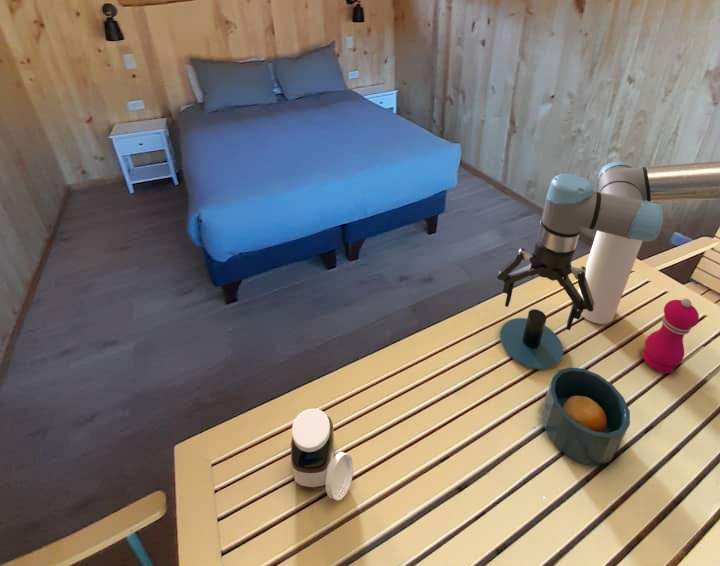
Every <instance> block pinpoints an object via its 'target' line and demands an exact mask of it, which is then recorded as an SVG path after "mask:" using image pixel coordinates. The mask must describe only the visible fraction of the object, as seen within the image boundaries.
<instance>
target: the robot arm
mask: <svg viewBox="0 0 720 566" xmlns="http://www.w3.org/2000/svg"><path fill="white" fill-rule="evenodd" d="M596 186H597V189H598V191H595V190H594V185H593V183H592V182H591V181H590V180H589V179H587V178H586V177H582V176H580V175H578V174H574V173H561V174H558V175H556V176H554V177H553V178H552V179H551V181H550V184H549V188H548V191H547V193H546V198H545V203H544V206H543V207H544V208H543V211H542V216H541V220H540V223H539V227H538V232H537V238H536V241H535V245H534V249H533V252H532V253H529V252H527V251H526V249H525V248H523V247H520V248H519V249H518V252H517V254H516V255H515V256H514V257H513V258H512V259H511V260H509V262H507V263H506V264H505V265H504V266H503V267H502V268H501V269H499V271H498V274H497V276H496V277H497V280H499V281H503V283H504V284H503V288H502V293H503V294H506V299H505V304H504V306H505V307H507V308H509V306H510V303H511V300H512V294H513V292H514V291H513V290H514V285H515V283H516V282H518V281H521V280H524V279H525V278H528V277H533V276H535V275H538V276H539V277H540V278H545V279H548V280H550V281H552V282H555V281H557V283H558V284H559V286H560V287H563V289H564V291H565V293H566V294H567V296H568V297H569V299H570V300H571V301H572V305H571V309H570V311H569V315H568V318H567V320H566V321H567V322H566V326H565V327H566V329H565V330H567V331H571V328H572V325H573V323H574V319H575V320H580V319H581V317H582V316H581V313H582V312H583V310H584V309H587V310H588V311H593V308H594V301H593V298H592V295H591V292H590V289H589V286H588V283H587V280H586V277H585V274H586V266H580V267H574V266H572V262H573V258H574V255H575V251H576V248H577V245H578V241H579V237H580V234H581V230H582V228H583V229H589V230H593V231H596V232H597V231H601V232H605V233H609V234H613V235H617V236H621V237H625V238H628V239H636V240H642V242H653V241H655V240H656V239H657V238H658V236H659V234H660V232H661V230H662V226H663V221H664V211H663V208H662V206H661V205H660V204H658V203H660V202H664V203H665V202H684V201H685V202H686V201H687V202H688V201H711V200H712V201H714V200H720V160H715V161H703V162H689V163H679V164H678V163H677V164H676V163H675V164H664V165H654V166H641V167H633V166H632V165H631V164H629V163H626V162H623V161H613V162H609V163H606V164H605V165H604V166H603V167H602V168H601V169H600V170H599V172H598V177H597V182H596ZM528 260H529V262H530V263H529V264H528V265H526V266H523V267H521V268H519V269H517V270H515V269H516V268H517V267H518V266H520V265H521V263H524V262H526V261H528ZM514 270H515V271H514ZM571 274H572V275H573V277H574V278H575V279H576V280H577V283H578V284H577V285H578V287H580V290H581V293H582V296H583V298H582V297H581V295H580V294H579V292H578V291H579V290H578V289H577V288H576V287H575V285H574V284H573V282H572V280H571V278H569V277H570V275H571ZM583 299H584V300H583Z"/></svg>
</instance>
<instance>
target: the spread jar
mask: <svg viewBox="0 0 720 566" xmlns="http://www.w3.org/2000/svg"><path fill="white" fill-rule="evenodd" d="M335 443H336V442H335V431H334V423H333V420H332V418H331V417H330V416H329V415H327V414H326V413H325V411H323V410H321V409H319V408H308V409H305V410H303V411H301V412H300V413H299V414H298V415H297V416H296V417H295V419H294V421H293V422H292V426H291V442H290V461H291V470H292V474H293V479H294V481H295V482H296V483H297V484H298V485H300V486H303V487H306V488H317V487H323V486H325V491H326V494H327V497H329V498H330V499H333V500H335V501H341V500H342V499H344V498H345V496H347V493H348V492H349V490H350V487H351V484H352V481H353V475H354V461H353V458H352V456H351V454H349V453H346V452H344V451H339V452H337V453H336V445H335Z"/></svg>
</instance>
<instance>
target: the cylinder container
mask: <svg viewBox="0 0 720 566" xmlns="http://www.w3.org/2000/svg"><path fill="white" fill-rule="evenodd" d="M642 244H643V241H642V240H636V239H628V238H625V237H621V236H617V235H613V234H609V233H605V232H601V231H597V230H596V233H595V235H594V239H593V243H592V245H591V247H590V252H589V255H588V259H587V260H586V261H587V262H586V265H585V268H586V274H585V277H586V280H587V283H588V286H589V289H590V292H591V295H592V298H593V301H594V308H593V311H588V310H587V309H584V310H583V312H582V313H581V316H580V317H583V319H586V320H588V321H589V322H591V323H594V324H598V325H607V324H610V323H612V322H613V320H614V318H615V315H616V313H617V310H618V308H619V305H620V303H621V299H622V297H623V294H624V291H625V289H626V286H627V284H628V281H629V278H630V276H631V273H632V270H633V267H634V265H635V263H636V259H637V257H638V254H639V252H640V249H641V247H642ZM578 287H579V286H578ZM577 291H578V292H579V294H580V295H581V297H582V298H583V296H582V293H581V290H580V287H579V288H578V290H577ZM583 300H584V299H583Z"/></svg>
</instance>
